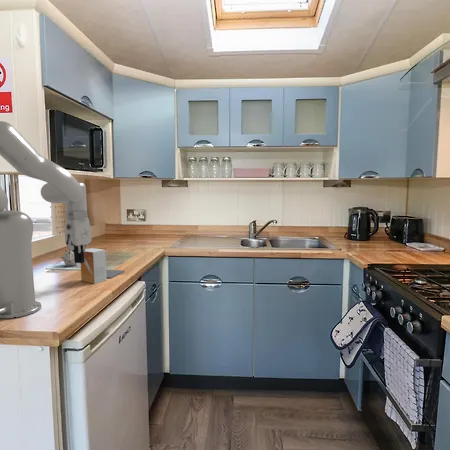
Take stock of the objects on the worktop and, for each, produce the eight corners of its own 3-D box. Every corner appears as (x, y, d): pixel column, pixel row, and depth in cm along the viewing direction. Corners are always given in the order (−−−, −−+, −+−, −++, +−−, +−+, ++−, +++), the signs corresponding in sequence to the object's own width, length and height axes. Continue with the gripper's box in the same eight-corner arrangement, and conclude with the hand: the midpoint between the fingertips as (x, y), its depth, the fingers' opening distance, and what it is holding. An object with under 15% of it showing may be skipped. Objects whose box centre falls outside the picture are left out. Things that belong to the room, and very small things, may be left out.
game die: (67, 273, 164) (56, 257, 165) (83, 264, 170) (72, 248, 170) (69, 268, 157) (57, 250, 158) (85, 259, 162) (74, 242, 163)
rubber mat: (111, 278, 141) (111, 277, 141) (90, 277, 143) (90, 275, 143) (124, 271, 152) (124, 270, 152) (104, 270, 154) (104, 269, 154)
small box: (81, 281, 137) (79, 250, 136) (94, 277, 143) (92, 247, 141) (94, 284, 133) (92, 252, 132) (107, 280, 139) (105, 249, 137)
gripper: (72, 217, 118) (75, 267, 120) (97, 213, 133) (99, 258, 135) (53, 216, 120) (57, 266, 122) (80, 213, 134) (83, 258, 137)
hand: (79, 262), depth 128 cm, fingers closed
